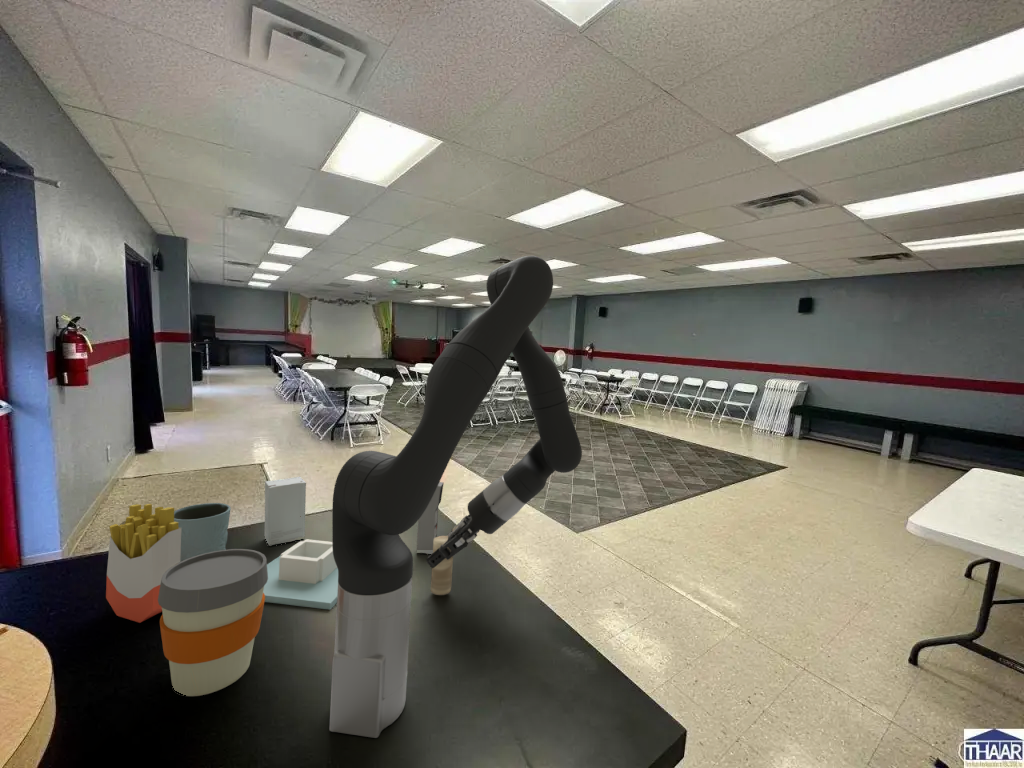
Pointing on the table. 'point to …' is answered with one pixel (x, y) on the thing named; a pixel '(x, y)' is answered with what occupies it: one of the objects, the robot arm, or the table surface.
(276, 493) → the skincare box
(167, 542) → the french fries container
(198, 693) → the reusable coffee cup
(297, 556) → the sleeve holder
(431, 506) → the vintage mobile phone
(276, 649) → the table surface
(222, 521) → the blue embossed cup
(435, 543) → the maple peg
